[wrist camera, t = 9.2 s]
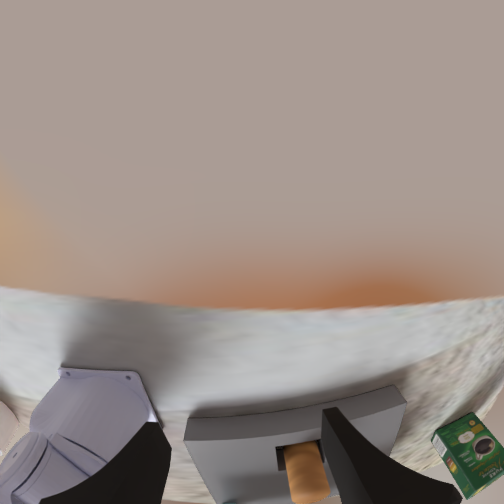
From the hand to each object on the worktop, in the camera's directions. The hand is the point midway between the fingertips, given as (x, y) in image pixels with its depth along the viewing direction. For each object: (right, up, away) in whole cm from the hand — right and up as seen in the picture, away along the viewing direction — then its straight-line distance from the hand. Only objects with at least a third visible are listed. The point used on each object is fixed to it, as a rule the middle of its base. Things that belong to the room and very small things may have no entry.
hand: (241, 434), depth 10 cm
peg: (+5, -10, +13) cm, 17 cm away
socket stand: (+5, -14, +14) cm, 20 cm away
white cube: (-37, -16, +13) cm, 42 cm away
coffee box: (+29, -17, +16) cm, 37 cm away
